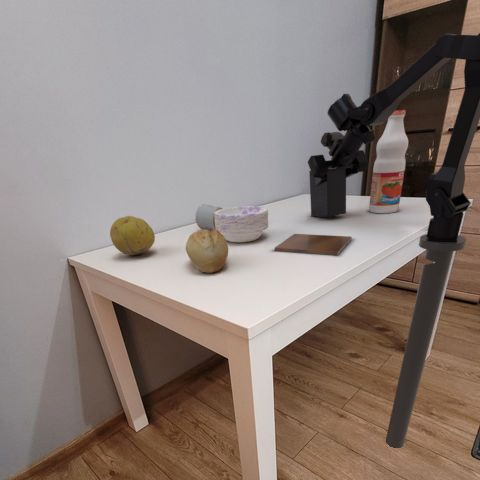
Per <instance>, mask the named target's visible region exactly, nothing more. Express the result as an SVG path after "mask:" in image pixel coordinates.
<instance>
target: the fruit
mask: <svg viewBox="0 0 480 480" xmlns="http://www.w3.org/2000/svg"><path fill="white" fill-rule="evenodd" d="M109 237H110V240H111V243H112V244H113V246H114V247H115V249H116V250H118V251H119V252H121V253H122V254H124V255H127V256H139V255H141V254H143V253H145V252H147V251H148V250H150V249H151V248H152V246H153V245H154V244H155V240H156V235H155V232H154V230H153V228H152V227H151V226H150V225H149V224H148V222H147V221H146V220H144V219H142V218H140V217H136V216H132V215H125V216H122V217H119V218H117V219H116V220H115V221H113V223H112V225H111V226H110V230H109Z"/></svg>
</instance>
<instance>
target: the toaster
mask: <svg viewBox="0 0 480 480" xmlns="http://www.w3.org/2000/svg"><path fill="white" fill-rule="evenodd" d="M327 176H328V177H327V178H326V179H325V180H324V181H323V182H322V183H320V184H319V185H318V186H316V178H315V177H313V175H312V172H311V170H309V197H310V216H311V217H320V218H321V217H323V218H328V217H329V218H330V217H334V216H340V215H346V214H347V178H346V168H344V169H329V170H328V173H327Z"/></svg>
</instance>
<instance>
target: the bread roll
mask: <svg viewBox="0 0 480 480" xmlns="http://www.w3.org/2000/svg"><path fill="white" fill-rule="evenodd" d="M185 251H186V254H187V256H188V258H189V260H190V262H191V263H192V265H194V267H196V269H198V270H199V271H200V272H203V273H207V274H208V273H215V272H217V271H220V270H221V269H222V268H223V267H224V266H225V263H226V262H227V259H228V256H229V245H228V241H227V240H226V239H225V238H224V236H223V234H222V232H219V231H218V230H216V229H212V228H211V229H210V230H206V229H200V230H197V231H194V232H192V233H191V234H190V235H189V236H188V238H187V241H186V244H185Z"/></svg>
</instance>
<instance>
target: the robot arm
mask: <svg viewBox="0 0 480 480" xmlns="http://www.w3.org/2000/svg"><path fill="white" fill-rule="evenodd" d="M452 59H453V60H465V62H464V68H463V75H464V76H463V78H464V79H463V82H464V89H463V90H464V91H463V93H462V97H461V101H460V104H459V107H458V111H457V114H456V117H455V120H454V125H453V128H452V132H451V133H450V134H451V135H450V138H449V140H448V145H447V147H446V151H445V154H444V158H443V161H442V164H441V167H440V168H439V169H438V171H436V172H432V173H430V174H429V175H428V181H427V185H426V188H425V189H424V190H423V193H425V202H426V203H427V205H428V206H429V212H430V216H431V218H430V219H429V223H428V227H427V231H426V232H427V233H426V234H427V237H428V241H435V242H457V241H458V235H459V233H460V229H461V225H462V221H463V218H464V212H466V211H468V209H469V208H470V206H471V200H470V199H469V198H468V197H467V195H466V194H465V193H464V188H465V181H466V172H465V169H466V167H465V166H466V162H467V158H468V156H469V153H470V150H471V147H472V144H473V141H474V138H475V136H476V131H477V129H478V126H479V123H480V32H479V33H478V34H454V33H449V32H448V33H444V34H442V35H441V36H439V38H438V39H437V40H436V42H435V43H434V44H433V45H432V46H430V48H428V50H426V51H425V52H424V53H423V54H422V55H421V56H420V57H419V58H418V59H416V61H414V62H413V63H412V64H411V65H410V66H409V67H407V69H406V70H405V71H403V73H402V74H401V75H399V76H398V77H397V78H396V79H395V80H394V81H393V82H392V83H391V84H390V85H388V86H387V87H385V88H383V89H381V90H379V91H377V92H375V93H373V94H372V95H370V96H369V97H368V98H366V99H365V100H363V102H362V103H361V104H360V105H358V106H357V105H356V103H355V102H354V101H353V98H352V97H351V95H350V93H343V94H342V95H341V97H339V98H338V99H336V100H335V101H334V102H333V103H331V105H330V106H329V108H328V110H327V116H328V117H329V119H330V120H331V122H332V123H333V124H334V126H335V127H336V130H337V131H333V132H324V133H323V135H321V139H320V144H321V145H322V146H323V147H324V148H325V147H326V148H327V149H328V156H329V157H331V158H330V160H326V158H325V155H324V154H314V155H310V157H309V158H308V160H307V164H308V167H309V171H311V172H312V175H313V177H315V178H316V186H318V185H319V184H320V183H322V182H323V181H324V180H325V179H326V178H327V177H328V176H327V173H328V170H329V169H344V168H346V179H348V178H350V177H352V176H355V175H357V174H359V173H363V172H366V170H367V169H368V167H369V164H370V163H369V160H368V157H367V156H366V153H365V151H364V150H363V149H361V148H362V146H363V145H367V144H370V143H372V142H374V141H376V136H375V130H374V129H371V128H370V127H369V126H379V125H382V124H384V123H385V122H387V121H388V118H389V117H390V116H391V115H392V114H393V113H394V111H397V108H398V107H399V105H400V104H401V102H403V100H404V99H405V98H406V97H408V96H409V95H410V94H411V93H413V92H414V91H415V90H416V89H418V87H419V86H421V85H422V84H423V83H424V82H425V81H427V79H429V78H430V77H432V75H433V74H435V73H436V72H437V71H438V70H439V69H441V68H442V67H443V66H444V65H445V64H446V63H448V62H449V61H450V60H452ZM343 131H344V132H345V133H344V134H343V133H341V132H343Z"/></svg>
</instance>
